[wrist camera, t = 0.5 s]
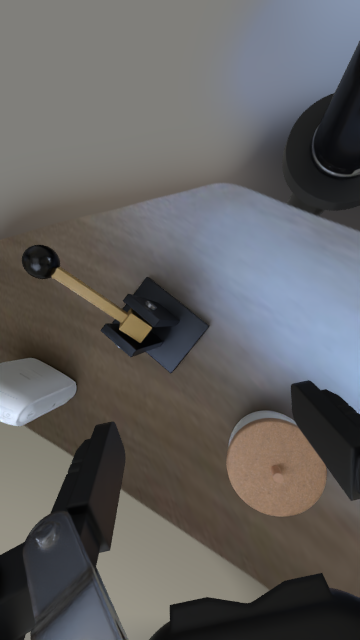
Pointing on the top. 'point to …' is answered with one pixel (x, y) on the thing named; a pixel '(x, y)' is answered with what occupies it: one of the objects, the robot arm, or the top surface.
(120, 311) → the lever
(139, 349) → the bracket
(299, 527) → the top surface
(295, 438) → the trinket box
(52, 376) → the photo printer
